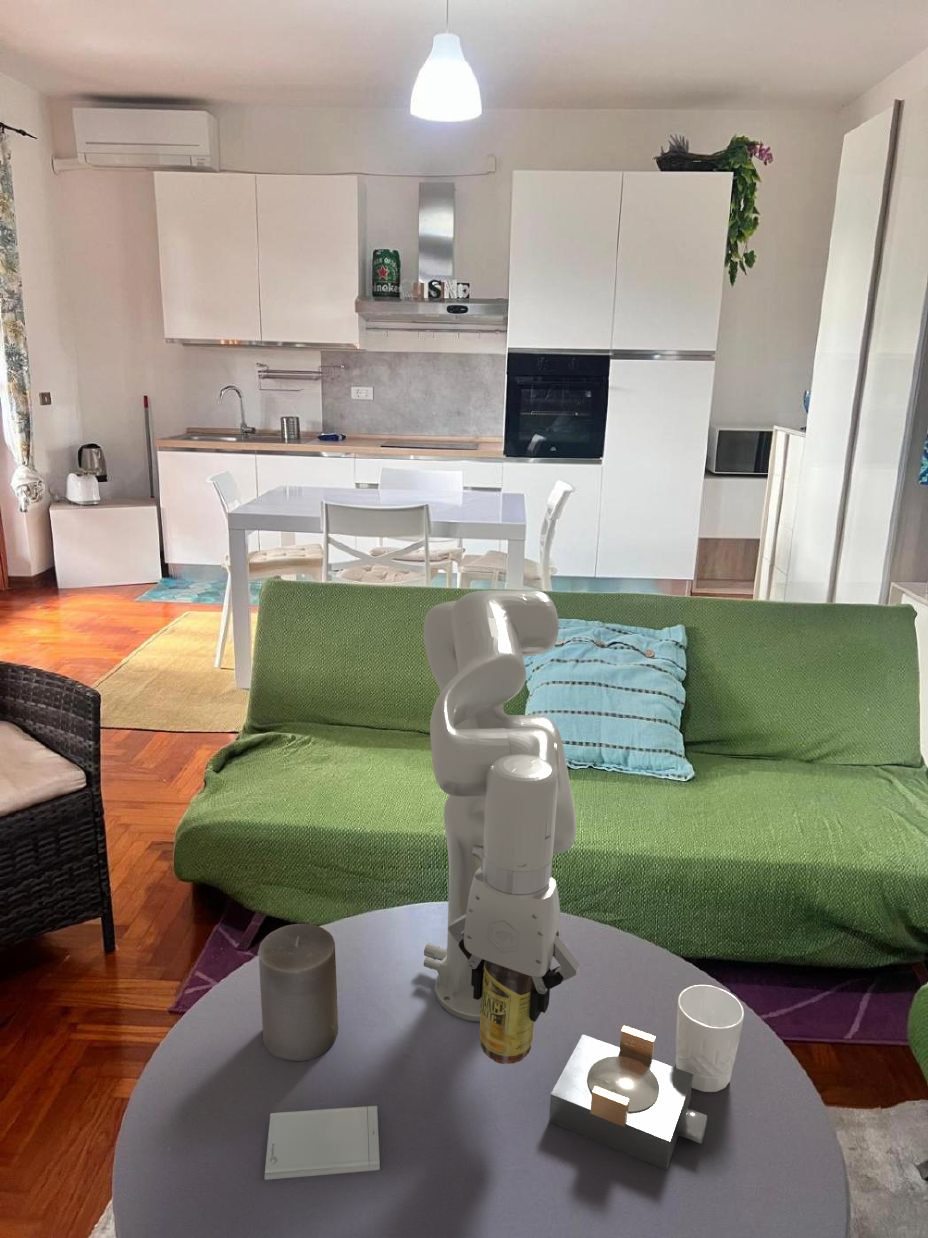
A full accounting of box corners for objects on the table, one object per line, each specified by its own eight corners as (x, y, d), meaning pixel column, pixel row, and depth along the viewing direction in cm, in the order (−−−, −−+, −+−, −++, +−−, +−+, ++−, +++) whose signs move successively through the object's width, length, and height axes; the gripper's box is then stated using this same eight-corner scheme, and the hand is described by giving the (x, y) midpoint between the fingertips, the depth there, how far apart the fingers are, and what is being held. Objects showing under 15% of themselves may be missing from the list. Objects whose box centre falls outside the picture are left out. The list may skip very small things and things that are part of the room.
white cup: (737, 1102, 110) (746, 1033, 108) (671, 1090, 112) (678, 1022, 109) (732, 1055, 118) (741, 990, 115) (670, 1045, 119) (677, 980, 116)
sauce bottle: (470, 1036, 108) (475, 893, 102) (517, 1022, 110) (525, 881, 104) (493, 1077, 102) (501, 927, 96) (543, 1061, 104) (553, 914, 98)
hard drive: (264, 1172, 98) (379, 1162, 99) (269, 1111, 106) (377, 1102, 107) (264, 1184, 98) (379, 1174, 100) (270, 1123, 106) (377, 1114, 108)
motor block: (547, 1125, 106) (550, 1075, 104) (581, 1058, 117) (585, 1012, 115) (689, 1184, 99) (696, 1132, 97) (713, 1107, 109) (719, 1059, 108)
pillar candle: (319, 1000, 125) (315, 906, 121) (350, 1044, 118) (348, 945, 113) (251, 1027, 120) (245, 929, 116) (280, 1075, 112) (274, 972, 108)
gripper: (430, 862, 99) (427, 997, 104) (580, 910, 92) (568, 1052, 97) (461, 830, 105) (456, 959, 111) (604, 872, 98) (591, 1008, 104)
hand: (509, 1001), depth 104 cm, fingers closed on sauce bottle, 6 cm apart
